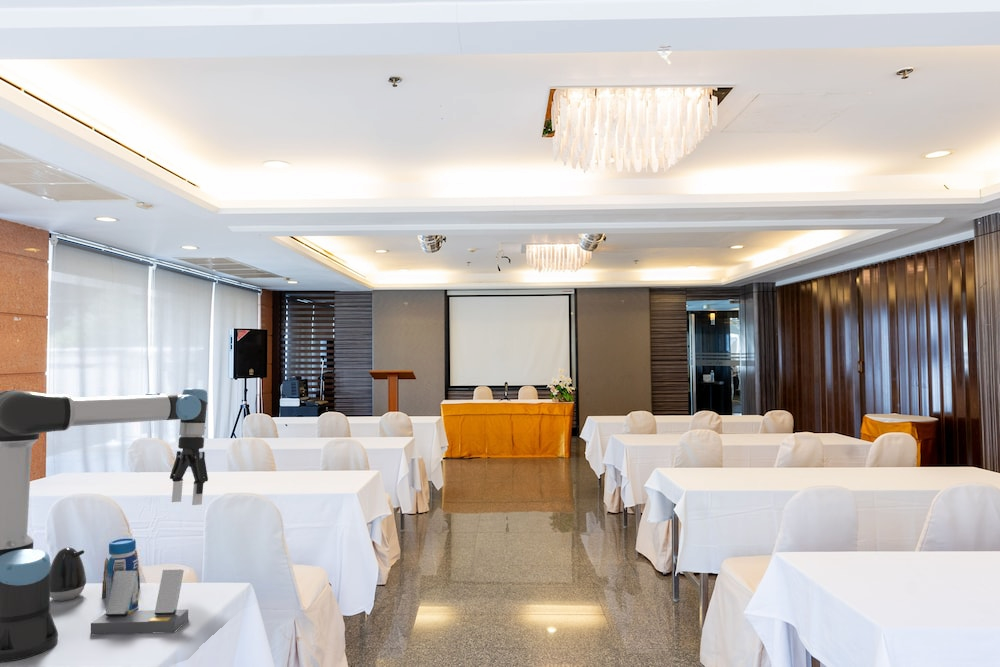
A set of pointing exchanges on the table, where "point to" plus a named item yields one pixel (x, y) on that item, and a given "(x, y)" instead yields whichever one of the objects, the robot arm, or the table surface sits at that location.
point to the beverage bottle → (122, 566)
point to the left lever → (121, 593)
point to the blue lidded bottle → (105, 579)
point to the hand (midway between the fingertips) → (186, 503)
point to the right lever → (169, 592)
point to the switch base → (139, 622)
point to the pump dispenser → (67, 575)
